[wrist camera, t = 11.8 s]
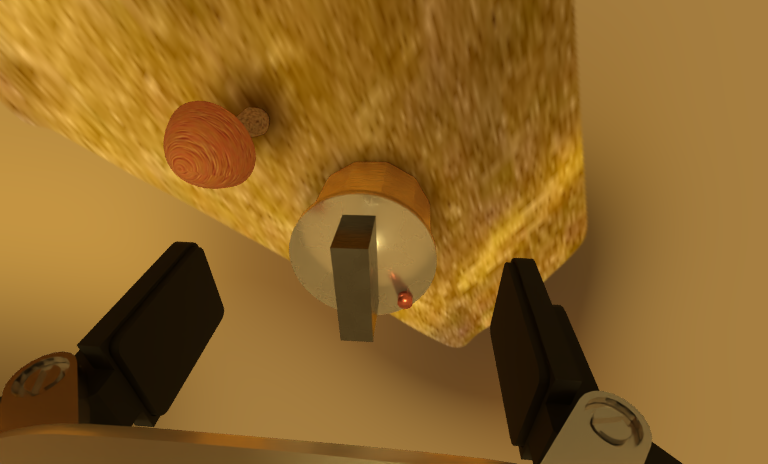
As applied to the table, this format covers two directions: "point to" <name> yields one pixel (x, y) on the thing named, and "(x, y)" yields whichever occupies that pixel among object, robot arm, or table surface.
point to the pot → (380, 184)
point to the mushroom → (213, 143)
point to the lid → (363, 257)
